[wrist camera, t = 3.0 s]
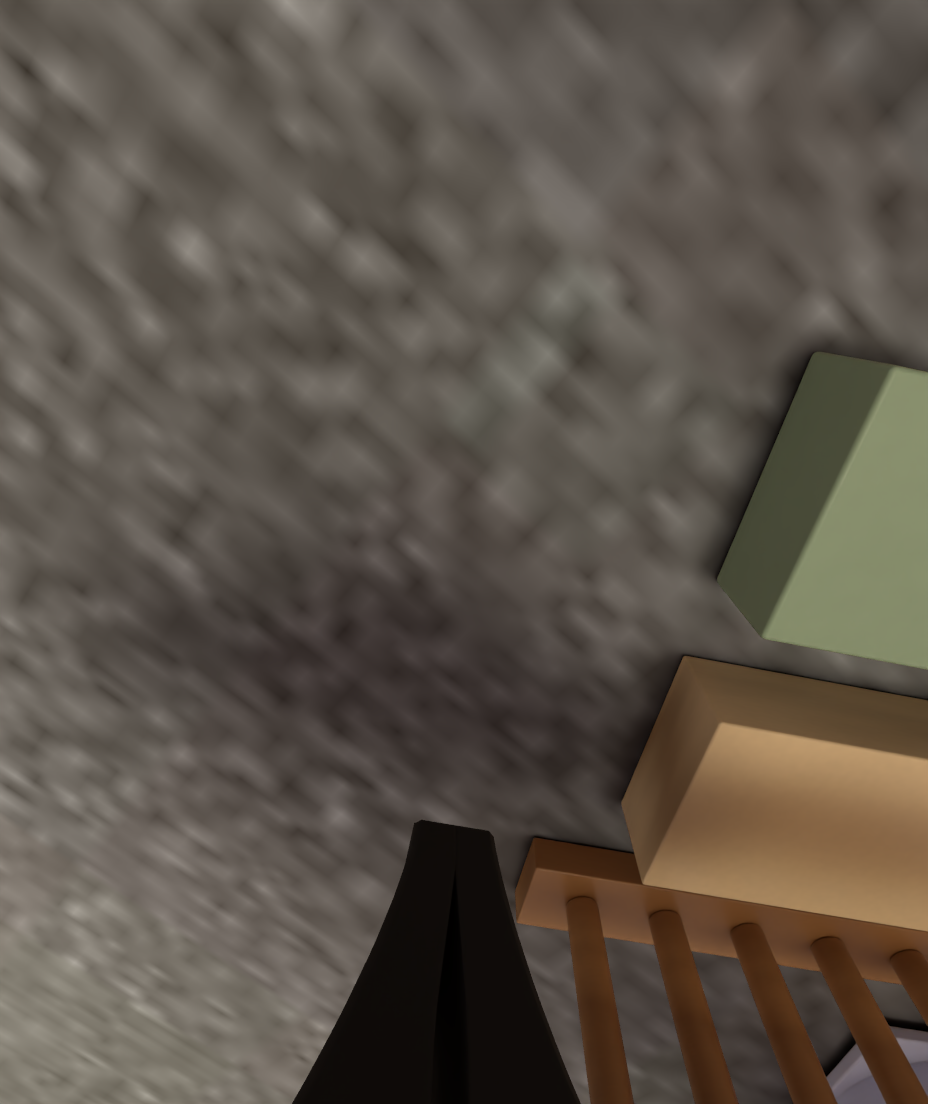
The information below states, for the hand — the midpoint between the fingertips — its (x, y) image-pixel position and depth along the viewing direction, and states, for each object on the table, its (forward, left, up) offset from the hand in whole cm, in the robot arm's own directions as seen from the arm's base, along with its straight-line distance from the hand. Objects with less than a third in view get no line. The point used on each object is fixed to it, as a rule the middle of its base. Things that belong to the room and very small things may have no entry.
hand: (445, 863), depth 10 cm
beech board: (0, -12, -5) cm, 13 cm away
